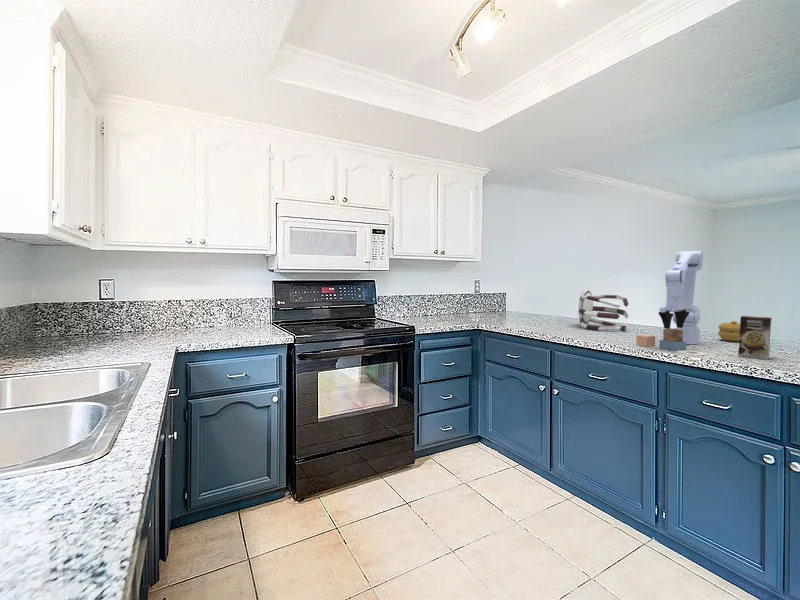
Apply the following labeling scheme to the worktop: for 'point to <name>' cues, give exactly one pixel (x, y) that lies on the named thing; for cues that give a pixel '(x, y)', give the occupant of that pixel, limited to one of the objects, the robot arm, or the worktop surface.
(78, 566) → the worktop surface
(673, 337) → the walnut block
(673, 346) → the blue block
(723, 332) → the pot
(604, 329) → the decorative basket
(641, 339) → the peach block
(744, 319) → the coffee box
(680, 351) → the card
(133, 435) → the worktop surface
